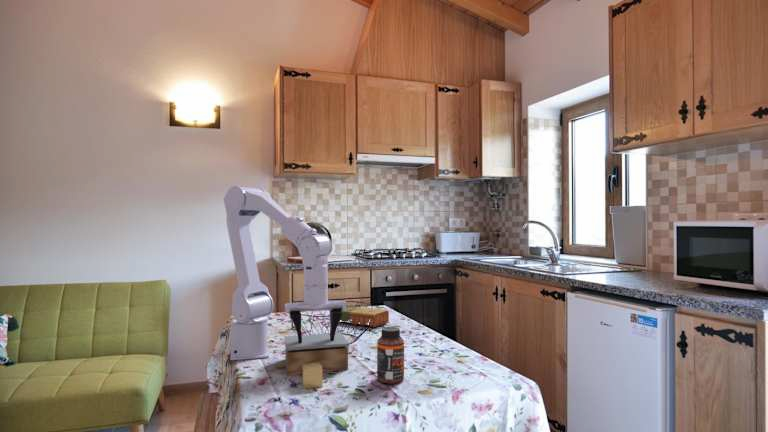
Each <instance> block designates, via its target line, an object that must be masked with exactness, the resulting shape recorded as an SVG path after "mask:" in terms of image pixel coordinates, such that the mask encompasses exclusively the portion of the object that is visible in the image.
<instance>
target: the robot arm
mask: <svg viewBox="0 0 768 432" xmlns="http://www.w3.org/2000/svg"><path fill="white" fill-rule="evenodd" d="M223 203H224V206H225V207H224V208H225V212H226V226H227V227H226V228H227V232H228V238H229V242H230V247H231V248H230V249H231V253H232V257H233V258H232V260H233V262H234V263H233V264H234V268H235V275H236V279H237V284H238V287H237V288H236V289H235V291H234V292H233V293H232V294H231V298H232V305H231V306H232V307H231V313H232V316H233V318H234V320H236V321H233V322H231V323H230V333H229V334H230V337H229V339H230V340H229V341H230V342H229V343H230V344H229V352H230V359H229V360H230V361H239V360H240V361H241V360H252V359H267V358H269V357H270V347H269V345H268V341H269V340H268V339H269V338H268V334H269V333H268V331H269V330H268V327H269V326H268V320H269V319H270V315H271V314H272V312H273V311H274V308H275V307H274V306H275V305H274V304H275V303H274V299H273V297H272V296H271V295H270V293H269V288H268V286H267V285H265V284H264V283H262V282H261V280H260V275H259V269H258V266H257V259H256V254H255V249H254V245H253V244H254V243H253V241H252V240H253V239H252V235H251V230H250V224H251V222H252V220H254V219H255V218H256V217H257V216H258V215H259V214H260V213H262V214H264V215H265V216H266V217H268V218H269V219H271V221H273V222H274V223H276V224H277V225H278V226H280V232H281V234H282V235H283V236H284V237H285V238H286V239H287V240H289V241H290V242H291V243H293V245H295V247H296V248H297V250H298V254H299V255H300V257H301V259H302V260H301V262H302V264H303V301H300V302H298V301H297V302H291V303H285V304H284V313H285V314H289V316H290V318H291V321H292V323H293V326H294V327H295V330H296V333H297V336H298V342H299V343H302V335H303V334H302V312H321V311H329V320H330V321H329V323H330V326H329V328H330V330H329V333H330V339H331V341H334V336H335V333H337V332H336V331H337V328H338V325H339V323H340V322H339V321H340V318H341V317H342V310H346V308H347V301H346V300H329V298H328V297H329V294H328V292H329V288H328V287H329V286H328V284H329V283H328V282H329V280H328V279H329V278H328V277H329V275H328V273H329V270H328V265H329V264H328V261H329V260H328V258H329V257H328V256H329V255H330V254H331V253H332V251H333V243H332V240H331V238H330V237H329V236H328V235H327V234H325V233H318V232H317V229H316V228H312V227H311V226H310V225H308V224H307V222H305V219H304V218H303V217H302V216H297V215H292V216H291V215H289V213H287V212H286V211H285V210H284V208H282V207H281V206H280V205H279V203H277V202H276V201H275V200H274V199H273V198H272V197H271V194H270V193H269V192H267V191H266V190H265V189H264V188H262V187H249V186H247V187H245V186H239V185H233V186H231V187H230V188H228V190H227V192H226V194H225V196H224V197H223ZM302 264H301V265H302Z"/></svg>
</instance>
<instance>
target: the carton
mask: <svg viewBox="0 0 768 432" xmlns="http://www.w3.org/2000/svg"><path fill="white" fill-rule="evenodd" d="M389 316H390V313H389V310H388V309H378V308H377V309H376V308H367V307H359V306H358V307H356V306H350V307H349V306H348V307H346V310H342V317H341V318H340V320H342V321H348V320H349V319H350V318H351V319H352V321H351V324H350V325H357V324H358V323H359V322H360V325H359V326H365V325H366V323H367V322H368V321H369V319H370V322H369V326H368V327H373V328H375V327H378V326H382V325H384V324H387V323H389V322H390V317H389ZM365 327H366V326H365Z"/></svg>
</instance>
